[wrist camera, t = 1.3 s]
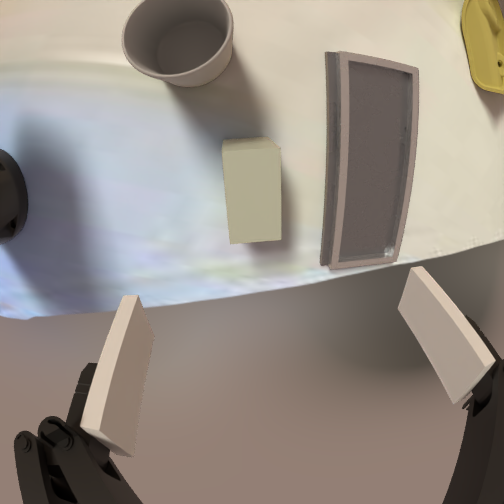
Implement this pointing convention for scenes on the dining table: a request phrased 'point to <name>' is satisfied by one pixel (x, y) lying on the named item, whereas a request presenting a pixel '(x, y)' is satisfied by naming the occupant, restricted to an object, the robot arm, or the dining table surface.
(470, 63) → the plastic component
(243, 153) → the block
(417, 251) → the dining table surface
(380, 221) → the tray
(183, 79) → the mug
